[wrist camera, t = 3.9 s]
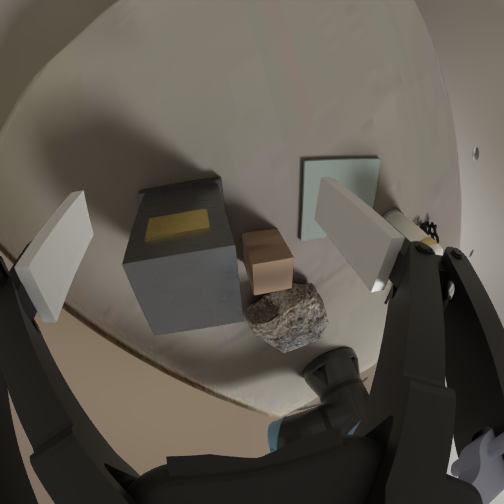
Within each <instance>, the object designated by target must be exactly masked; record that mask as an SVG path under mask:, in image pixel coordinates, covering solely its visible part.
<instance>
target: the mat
mask: <svg viewBox="0 0 504 504" xmlns="http://www.w3.org/2000/svg"><path fill="white" fill-rule="evenodd" d="M380 160H381V159H379V158H344V159H318V160H303V186H302V209H301V228H300V240H301V241H305V240H311V239H317V238H324V237H328V236H327V235H326V233H325V232H324V231H323V230H322V228H321V227H320V226H319V225H318V224H317V222H316V221H315V220H314V217H315V211H316V205H317V200H318V194H319V188H320V181H321V177H333V178H334V179H336V180H337V181H338V182H340V183H341V184H342V185H344V186H345V187H346V188H347V189H349V190H350V191H351V192H352V193H354V194H355V195H356V196H357V197H359V198H360V199H361V200H362V201H364V202H365V203H366V204H367V205H368V206H370V207H371V208H372V209H373V206H374V200H375V194H376V188H377V182H378V175H379V168H380Z"/></svg>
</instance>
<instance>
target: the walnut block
mask: <svg viewBox="0 0 504 504" xmlns="http://www.w3.org/2000/svg"><path fill="white" fill-rule="evenodd" d="M241 234H242V247H243V259H244V265H245V268H246V271H247V274H248V277H249V281H250V284H251V287H252V290H253V293H254V295H259V294H264V293H269V292H275V291H280V290H285V289H290V288H292V277H293V261H294V257H293V255H292V254H291V252H290V250H289V248H288V246H287V245H286V243H285V241H284V239H283V238H282V236H281V234H280V232H279V231H278V229H277V228H273V229H267V230H260V231H254V232H247V233H241Z"/></svg>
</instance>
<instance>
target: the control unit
mask: <svg viewBox="0 0 504 504" xmlns="http://www.w3.org/2000/svg"><path fill="white" fill-rule="evenodd" d="M138 198H139V202H140V206H139V209H138V212H137V216H136V219H135V222H134V225H133V228H132V231H131V235H130V238H129V242H128V245H127V249H126V252H125V256H124V260H123V263H122V265H123V267H124V270H125V272H126V275H127V277H128V279H129V282H130V284H131V287H132V289H133V291H134V293H135V296H136V298H137V300H138V302H139V305H140V307H141V309H142V311H143V313H144V315H145V317H146V320H147V322H148V324H149V326H150V328H151V330H152V332H153V334H154V335H160V334H167V333H174V332H181V331H188V330H195V329H201V328H207V327H213V326H219V325H225V324H231V323H236V322H241V321H243V313H242V303H241V294H240V285H239V275H238V265H237V255H236V245H235V242H234V238H233V235H232V232H231V228H230V225H229V221H228V218H227V215H226V211H225V208H224V199H223V189H222V180H221V177H213V178H207V179H200V180H194V181H188V182H182V183H176V184H170V185H165V186H160V187H154V188H149V189H144V190H140V191H139V193H138Z"/></svg>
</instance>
